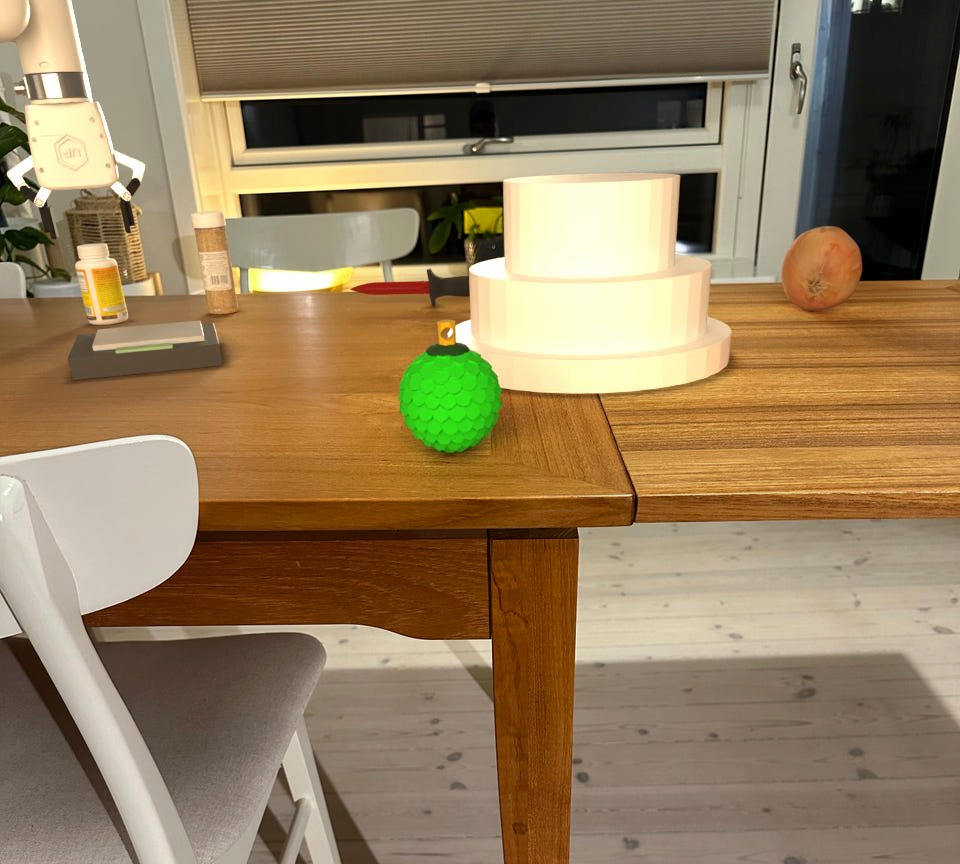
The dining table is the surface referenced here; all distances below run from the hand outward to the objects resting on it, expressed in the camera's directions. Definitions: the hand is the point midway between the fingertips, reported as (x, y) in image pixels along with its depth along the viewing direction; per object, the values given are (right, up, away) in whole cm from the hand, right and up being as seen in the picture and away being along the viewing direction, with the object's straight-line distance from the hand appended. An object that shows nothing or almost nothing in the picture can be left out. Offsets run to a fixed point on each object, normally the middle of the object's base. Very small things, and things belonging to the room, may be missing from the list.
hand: (92, 235), depth 130 cm
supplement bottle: (0, -10, +5) cm, 12 cm away
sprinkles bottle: (+16, -8, +9) cm, 19 cm away
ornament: (+51, -40, -54) cm, 84 cm away
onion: (+97, -13, -7) cm, 98 cm away
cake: (+65, -25, -27) cm, 74 cm away
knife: (+46, -7, +7) cm, 47 cm away
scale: (+14, -23, -19) cm, 33 cm away
